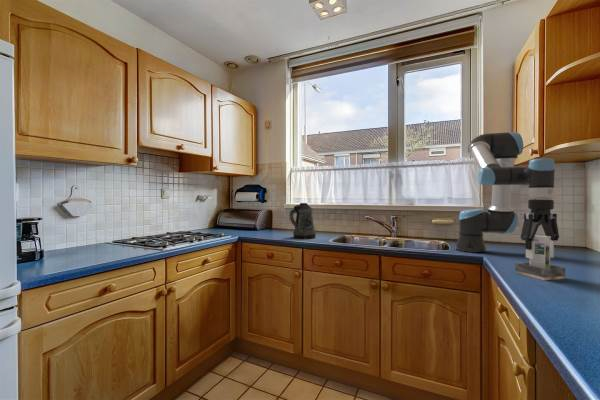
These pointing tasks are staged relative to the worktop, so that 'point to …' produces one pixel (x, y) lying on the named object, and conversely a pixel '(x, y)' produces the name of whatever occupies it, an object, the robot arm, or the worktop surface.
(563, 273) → the frame
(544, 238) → the syrup box
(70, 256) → the worktop surface
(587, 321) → the worktop surface
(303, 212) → the black handled container
